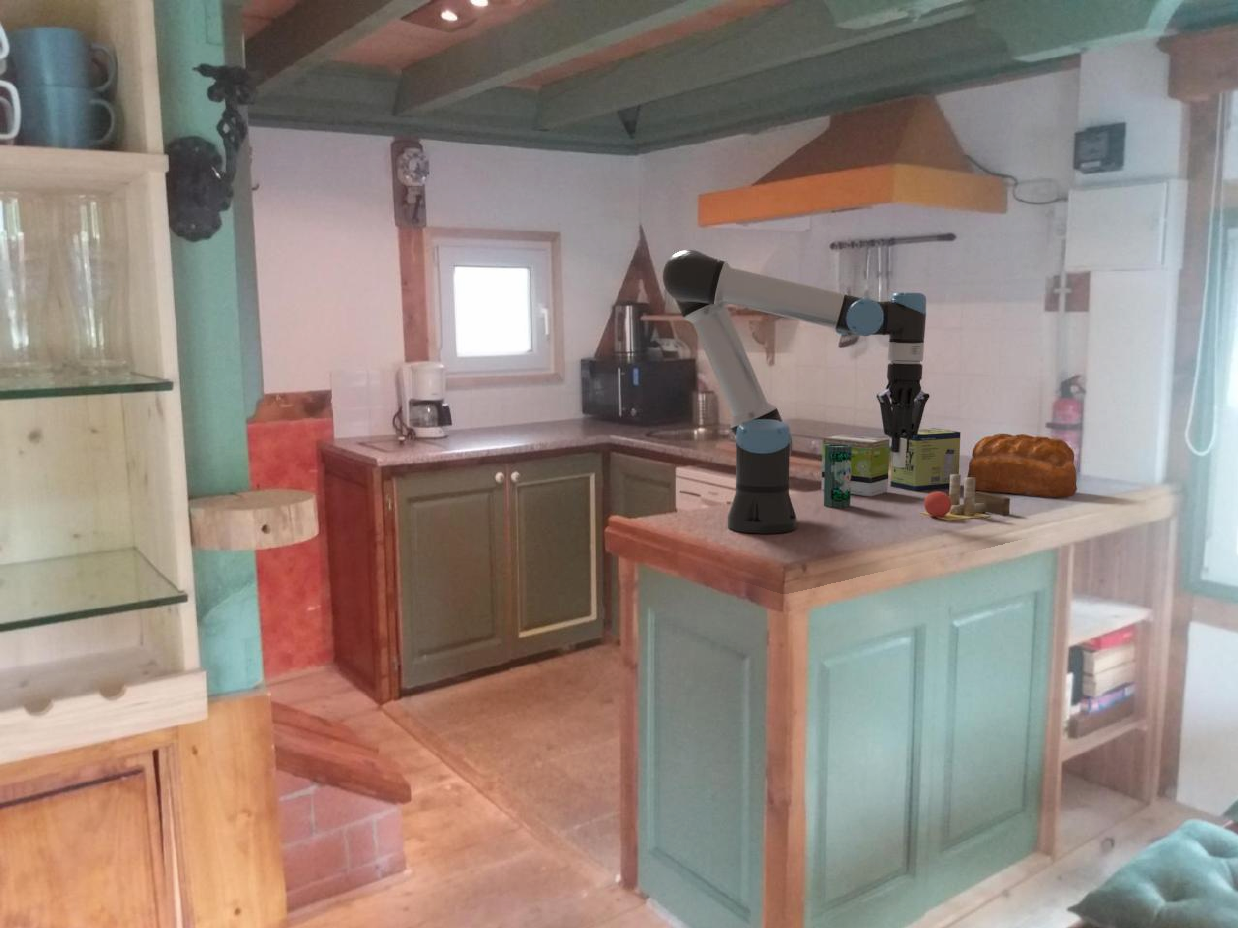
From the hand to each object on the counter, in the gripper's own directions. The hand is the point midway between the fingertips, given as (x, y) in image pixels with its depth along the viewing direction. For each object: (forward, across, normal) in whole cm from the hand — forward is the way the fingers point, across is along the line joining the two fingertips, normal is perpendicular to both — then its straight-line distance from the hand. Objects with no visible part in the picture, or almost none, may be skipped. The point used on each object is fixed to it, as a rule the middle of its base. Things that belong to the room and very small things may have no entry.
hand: (898, 466), depth 221 cm
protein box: (+12, +36, +36) cm, 52 cm away
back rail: (+12, +27, 0) cm, 29 cm away
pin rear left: (+12, +18, +2) cm, 22 cm away
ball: (+9, +11, -1) cm, 14 cm away
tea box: (+13, +14, +36) cm, 41 cm away
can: (+13, -2, +20) cm, 24 cm away
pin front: (+11, +15, 0) cm, 19 cm away
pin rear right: (+12, +18, -3) cm, 22 cm away
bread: (+12, +54, +20) cm, 59 cm away
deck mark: (+12, +16, 0) cm, 20 cm away
